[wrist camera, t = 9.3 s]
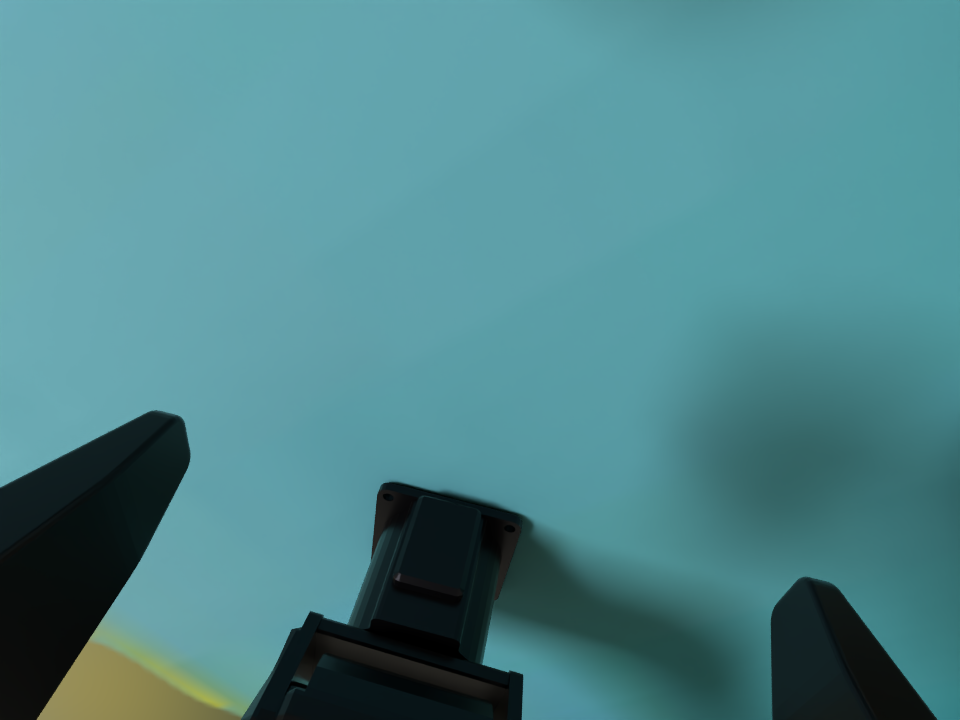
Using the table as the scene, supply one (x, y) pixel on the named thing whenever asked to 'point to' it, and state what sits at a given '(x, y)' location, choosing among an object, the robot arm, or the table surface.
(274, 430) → the table surface
